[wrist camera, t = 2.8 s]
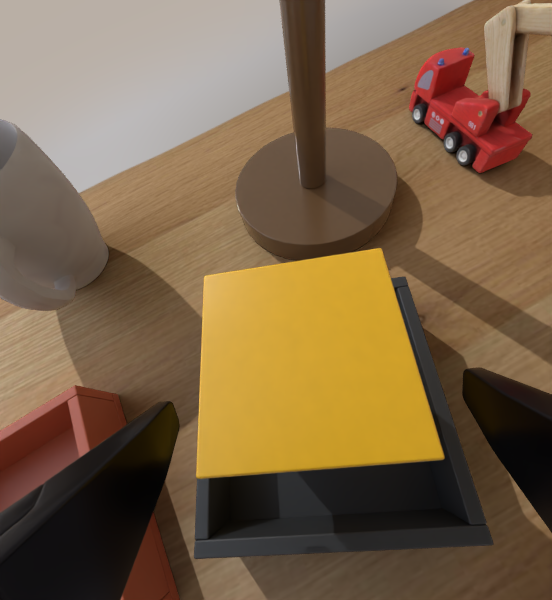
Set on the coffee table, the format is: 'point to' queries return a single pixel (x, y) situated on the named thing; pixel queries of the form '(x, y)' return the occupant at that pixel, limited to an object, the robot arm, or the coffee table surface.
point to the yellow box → (309, 371)
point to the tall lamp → (314, 162)
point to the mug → (42, 228)
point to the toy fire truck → (492, 103)
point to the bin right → (350, 494)
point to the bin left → (65, 450)
